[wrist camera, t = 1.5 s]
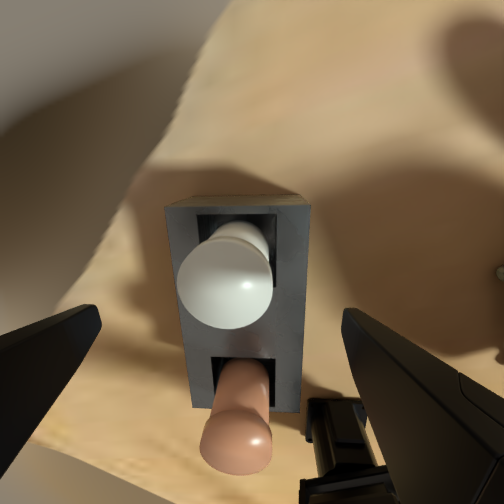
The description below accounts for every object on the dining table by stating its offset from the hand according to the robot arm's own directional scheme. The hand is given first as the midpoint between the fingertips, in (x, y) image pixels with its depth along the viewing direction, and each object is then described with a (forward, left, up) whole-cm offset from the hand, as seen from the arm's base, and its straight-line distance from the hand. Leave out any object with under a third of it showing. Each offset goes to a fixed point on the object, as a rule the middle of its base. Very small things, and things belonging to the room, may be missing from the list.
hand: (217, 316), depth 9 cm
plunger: (0, 0, -8) cm, 8 cm away
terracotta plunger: (-11, 0, -8) cm, 14 cm away
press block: (-6, 0, -13) cm, 14 cm away
